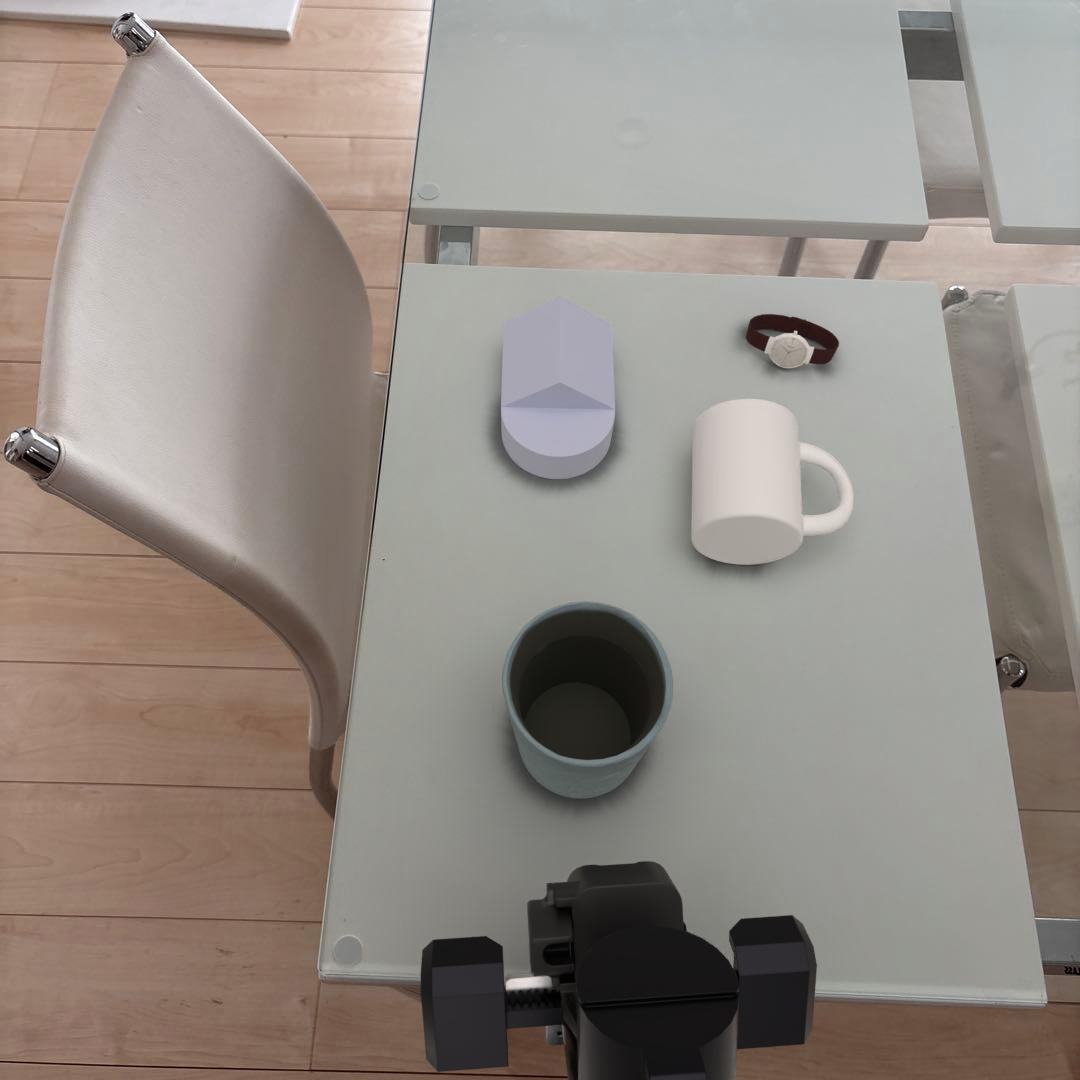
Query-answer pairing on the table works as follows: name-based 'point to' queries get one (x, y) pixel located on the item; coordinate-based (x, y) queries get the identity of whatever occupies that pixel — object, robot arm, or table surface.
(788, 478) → the mug
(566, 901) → the robot arm
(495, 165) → the table surface
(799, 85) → the table surface
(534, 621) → the teal cup
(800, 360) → the watch
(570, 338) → the wedge on round base
